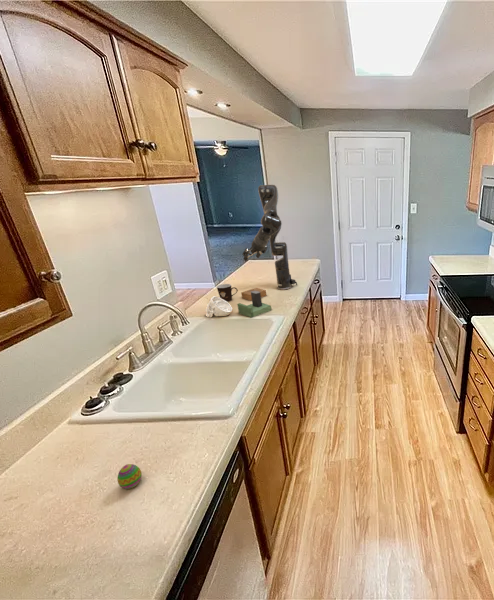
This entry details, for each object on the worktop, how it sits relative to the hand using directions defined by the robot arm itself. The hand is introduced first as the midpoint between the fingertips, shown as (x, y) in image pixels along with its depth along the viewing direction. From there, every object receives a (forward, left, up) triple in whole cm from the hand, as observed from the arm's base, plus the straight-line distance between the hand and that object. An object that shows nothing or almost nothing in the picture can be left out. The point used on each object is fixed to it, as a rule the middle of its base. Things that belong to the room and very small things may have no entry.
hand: (251, 258), depth 199 cm
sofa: (+9, +10, -29) cm, 33 cm away
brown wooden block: (-7, -13, -29) cm, 33 cm away
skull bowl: (+24, -3, -30) cm, 39 cm away
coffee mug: (+7, -21, -30) cm, 37 cm away
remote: (+7, +10, -26) cm, 29 cm away
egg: (+101, +85, -30) cm, 136 cm away
